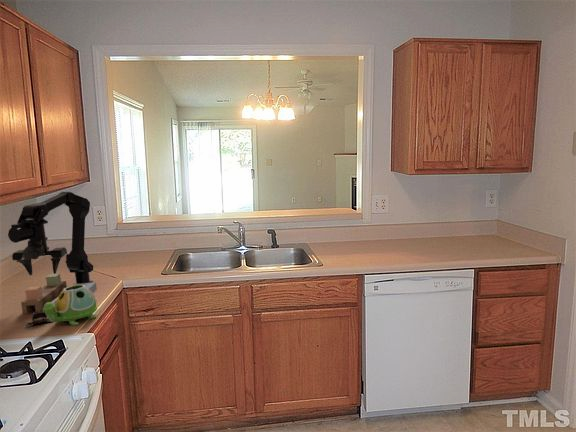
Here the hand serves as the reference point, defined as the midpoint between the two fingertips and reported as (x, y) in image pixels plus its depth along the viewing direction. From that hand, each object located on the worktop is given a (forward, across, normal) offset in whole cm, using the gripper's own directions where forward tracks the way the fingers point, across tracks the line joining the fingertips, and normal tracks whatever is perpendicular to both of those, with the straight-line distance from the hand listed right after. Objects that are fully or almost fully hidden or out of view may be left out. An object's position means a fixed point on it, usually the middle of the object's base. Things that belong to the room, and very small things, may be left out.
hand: (43, 274), depth 172 cm
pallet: (+12, 0, 0) cm, 12 cm away
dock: (+12, +11, 0) cm, 16 cm away
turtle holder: (+12, +19, -22) cm, 31 cm away
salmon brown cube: (+7, 0, -8) cm, 11 cm away
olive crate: (+7, 0, +8) cm, 11 cm away
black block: (+12, +7, -22) cm, 26 cm away
